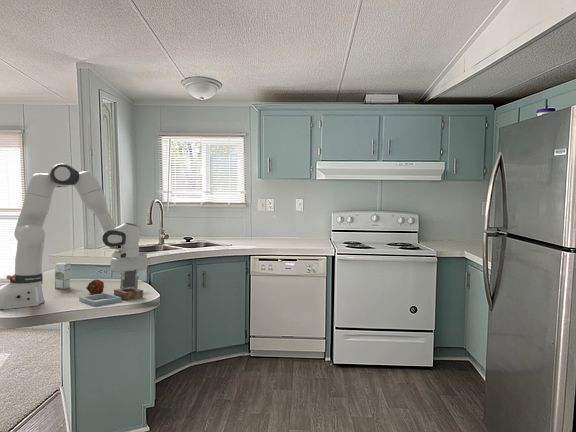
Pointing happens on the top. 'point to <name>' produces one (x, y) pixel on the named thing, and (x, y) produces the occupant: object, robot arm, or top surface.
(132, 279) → the plug
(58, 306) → the top surface
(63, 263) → the syrup box
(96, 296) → the tray
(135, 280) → the electrical switch
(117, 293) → the holder
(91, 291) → the brown rounded piece
